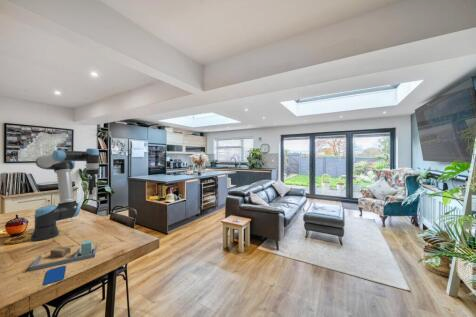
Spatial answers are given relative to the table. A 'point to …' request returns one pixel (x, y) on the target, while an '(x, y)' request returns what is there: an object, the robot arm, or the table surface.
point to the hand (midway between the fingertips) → (92, 197)
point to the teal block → (86, 247)
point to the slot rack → (76, 258)
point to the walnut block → (60, 251)
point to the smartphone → (54, 275)
